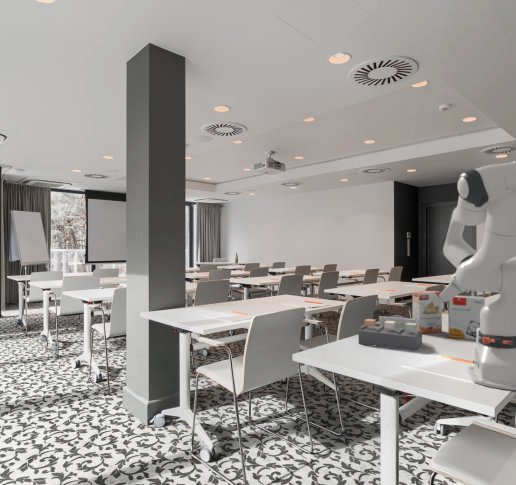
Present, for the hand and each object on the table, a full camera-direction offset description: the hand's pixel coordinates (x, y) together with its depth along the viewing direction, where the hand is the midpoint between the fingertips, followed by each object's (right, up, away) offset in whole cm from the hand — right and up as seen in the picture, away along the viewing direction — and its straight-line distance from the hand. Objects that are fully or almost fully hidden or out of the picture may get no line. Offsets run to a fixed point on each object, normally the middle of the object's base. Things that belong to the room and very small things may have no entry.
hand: (436, 304), depth 163 cm
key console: (-15, -20, +12) cm, 28 cm away
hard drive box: (+25, -20, +22) cm, 39 cm away
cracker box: (+12, -20, +35) cm, 42 cm away
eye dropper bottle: (+23, -20, +4) cm, 30 cm away
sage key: (-9, -12, +5) cm, 16 cm away
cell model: (-6, -20, +30) cm, 36 cm away
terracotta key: (-24, -12, +15) cm, 31 cm away
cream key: (-16, -12, +10) cm, 23 cm away
